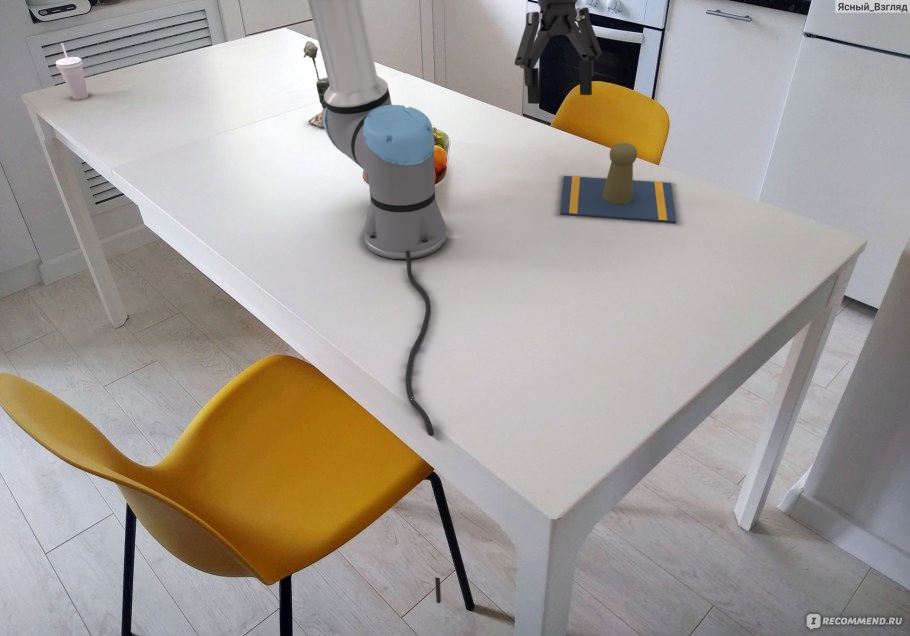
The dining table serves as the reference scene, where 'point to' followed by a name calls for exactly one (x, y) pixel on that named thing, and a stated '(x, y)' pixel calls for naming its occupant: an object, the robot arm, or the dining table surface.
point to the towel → (645, 206)
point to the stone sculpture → (321, 83)
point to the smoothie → (73, 75)
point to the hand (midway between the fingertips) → (560, 99)
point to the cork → (620, 174)
